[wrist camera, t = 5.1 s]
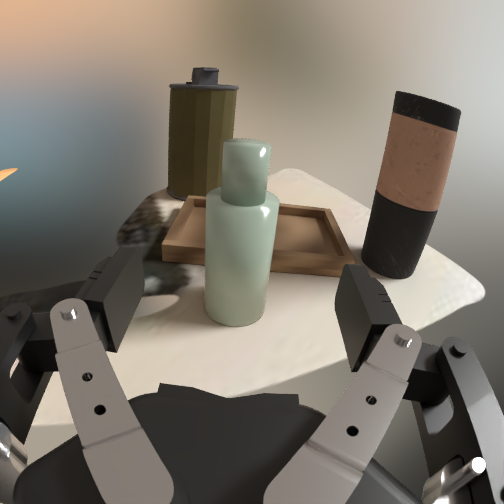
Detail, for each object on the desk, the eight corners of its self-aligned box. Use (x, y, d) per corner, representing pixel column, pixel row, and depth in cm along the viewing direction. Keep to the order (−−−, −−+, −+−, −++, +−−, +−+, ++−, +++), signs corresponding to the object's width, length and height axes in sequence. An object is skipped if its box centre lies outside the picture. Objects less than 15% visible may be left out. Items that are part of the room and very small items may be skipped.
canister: (241, 197, 50) (253, 70, 40) (177, 206, 45) (182, 65, 35) (213, 177, 58) (221, 70, 48) (159, 183, 53) (162, 68, 43)
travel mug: (346, 252, 38) (380, 86, 28) (384, 243, 41) (418, 99, 31) (390, 286, 32) (441, 101, 22) (426, 272, 36) (472, 115, 26)
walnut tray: (162, 260, 33) (161, 244, 32) (188, 208, 45) (188, 195, 44) (350, 277, 33) (355, 261, 32) (327, 221, 45) (330, 209, 44)
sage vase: (200, 323, 26) (202, 148, 18) (208, 285, 30) (213, 133, 23) (264, 329, 26) (290, 156, 18) (263, 290, 30) (283, 139, 23)
